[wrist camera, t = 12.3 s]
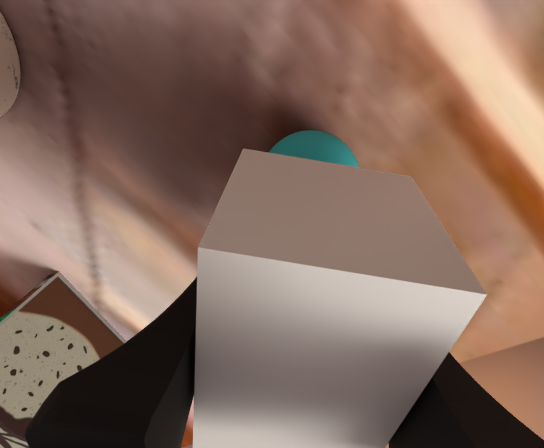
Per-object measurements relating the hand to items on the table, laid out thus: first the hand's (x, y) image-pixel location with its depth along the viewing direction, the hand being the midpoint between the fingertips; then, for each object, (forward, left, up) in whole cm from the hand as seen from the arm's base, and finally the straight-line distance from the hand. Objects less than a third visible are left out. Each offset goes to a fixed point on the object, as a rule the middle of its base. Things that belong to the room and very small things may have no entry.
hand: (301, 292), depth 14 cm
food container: (+17, +16, -8) cm, 25 cm away
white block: (0, 0, -2) cm, 2 cm away
